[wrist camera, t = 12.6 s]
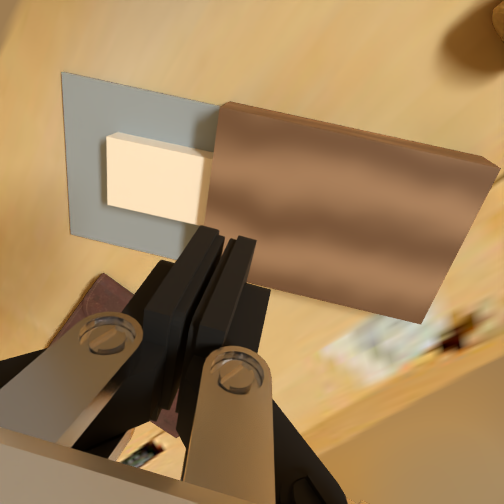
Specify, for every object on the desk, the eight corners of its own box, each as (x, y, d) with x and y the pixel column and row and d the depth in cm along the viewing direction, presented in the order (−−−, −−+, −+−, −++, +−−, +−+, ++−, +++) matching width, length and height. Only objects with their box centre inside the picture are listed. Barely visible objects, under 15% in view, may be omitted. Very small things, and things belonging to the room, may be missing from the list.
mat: (63, 71, 31) (61, 71, 31) (228, 107, 31) (228, 108, 30) (72, 232, 38) (70, 234, 38) (206, 265, 38) (205, 266, 37)
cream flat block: (117, 132, 33) (106, 136, 31) (219, 153, 32) (214, 159, 30) (117, 197, 35) (107, 204, 34) (211, 218, 35) (205, 226, 33)
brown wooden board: (229, 101, 30) (219, 107, 27) (481, 156, 29) (500, 168, 26) (208, 252, 37) (197, 270, 34) (412, 301, 36) (420, 324, 33)
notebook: (178, 428, 51) (173, 442, 49) (51, 344, 47) (41, 356, 46) (248, 372, 44) (245, 385, 43) (106, 270, 41) (96, 279, 39)
